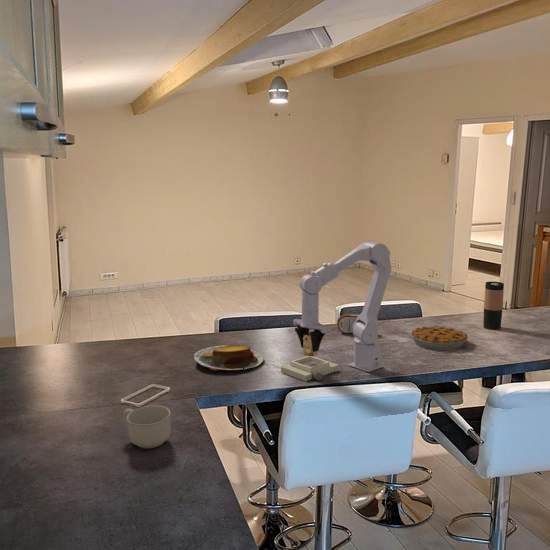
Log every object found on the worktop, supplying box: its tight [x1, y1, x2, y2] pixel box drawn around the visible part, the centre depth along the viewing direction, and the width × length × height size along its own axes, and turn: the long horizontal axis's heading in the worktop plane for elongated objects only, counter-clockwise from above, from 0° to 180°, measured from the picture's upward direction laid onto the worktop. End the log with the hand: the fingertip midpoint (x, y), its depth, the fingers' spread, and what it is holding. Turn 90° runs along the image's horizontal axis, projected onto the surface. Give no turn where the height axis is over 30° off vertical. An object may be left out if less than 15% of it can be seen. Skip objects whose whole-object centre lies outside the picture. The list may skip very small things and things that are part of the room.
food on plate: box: [193, 345, 265, 371], centre depth 207 cm, size 25×25×7 cm
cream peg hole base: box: [280, 356, 340, 382], centre depth 196 cm, size 15×16×4 cm
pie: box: [410, 326, 468, 351], centre depth 229 cm, size 22×22×5 cm
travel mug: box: [482, 281, 505, 331], centre depth 250 cm, size 8×8×20 cm
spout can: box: [302, 331, 319, 357], centre depth 195 cm, size 5×6×7 cm
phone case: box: [120, 383, 171, 408], centre depth 176 cm, size 7×1×15 cm
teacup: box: [122, 404, 172, 450], centre depth 145 cm, size 14×11×8 cm
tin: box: [336, 313, 361, 334], centre depth 243 cm, size 15×3×8 cm, turn 84°
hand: (309, 349), depth 196 cm, fingers closed on spout can, 5 cm apart
